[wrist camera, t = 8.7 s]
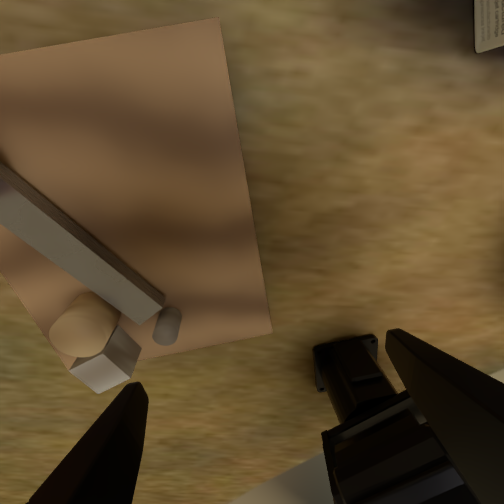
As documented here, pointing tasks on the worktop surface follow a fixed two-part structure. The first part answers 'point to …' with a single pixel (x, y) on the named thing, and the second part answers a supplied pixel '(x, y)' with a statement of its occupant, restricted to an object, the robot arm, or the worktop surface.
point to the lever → (74, 249)
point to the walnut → (84, 326)
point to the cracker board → (137, 186)
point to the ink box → (488, 24)
